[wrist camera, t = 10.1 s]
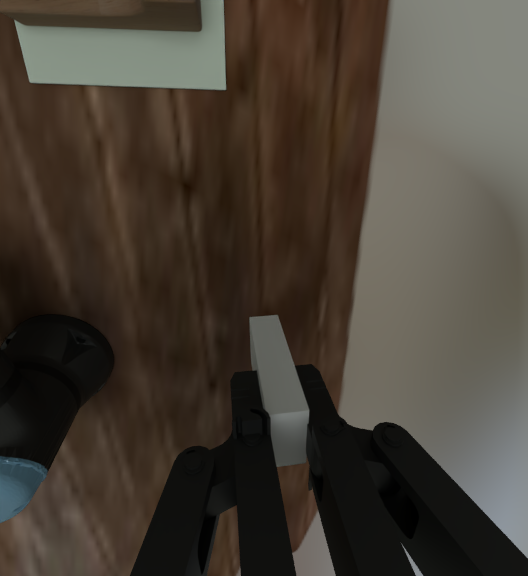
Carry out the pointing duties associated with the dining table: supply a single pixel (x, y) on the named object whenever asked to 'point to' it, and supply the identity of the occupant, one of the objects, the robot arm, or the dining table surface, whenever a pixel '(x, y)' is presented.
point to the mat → (128, 55)
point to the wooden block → (107, 14)
